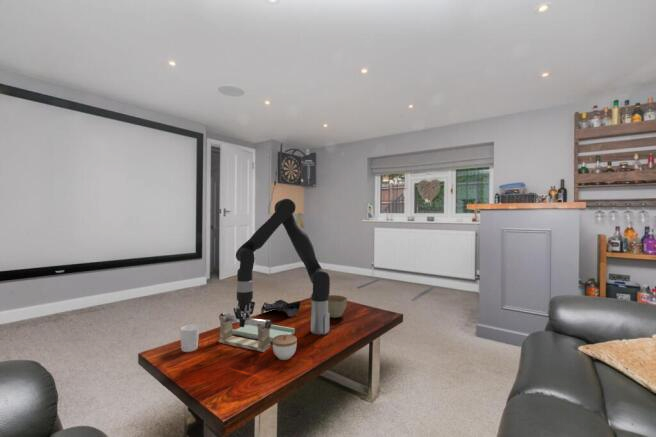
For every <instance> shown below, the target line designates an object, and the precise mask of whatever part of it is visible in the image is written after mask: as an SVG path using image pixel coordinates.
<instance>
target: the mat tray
mask: <svg viewBox="0 0 656 437" xmlns="http://www.w3.org/2000/svg"><path fill="white" fill-rule="evenodd" d="M295 333H296V328H295V327H294V328H293V327H288V326H283V325H282V326H281V325H276V324H272V323H271V327H270V343H272V340H273V338H274V337H276V336H278V335H284V334H288V335H294V334H295ZM232 335H234V336H238V337H242V338H247V339H252V340H258V329H257V326H253V325H245V326H244V327H240V326H239V328H236V329H234V328H232Z"/></svg>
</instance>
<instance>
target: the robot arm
mask: <svg viewBox="0 0 656 437" xmlns="http://www.w3.org/2000/svg"><path fill="white" fill-rule="evenodd" d="M296 208H297V207H296V204H295V201H294V200H292V199H291V198H283V199H281V200H278V201H277V202H276V203H275V205H274V212H273V214H272V215H271V216H270V218H268V219H267V221H265V222H264V223H263V224H262V225H261V226H260V227H258V229H256V230H255V232H254V233H253V234H252V235H251V237H250V238H249V239H248V240H247V241H246V242H245V243H243V244H242V245H241V246H240V247H238V249H237V251H236V252H235V258H236V260H237V261H238V262H239V268H238V269H237V271H236V272H237V275H236V278H237V280H236V301H238V302H237V306H236V307H234V308H233V313H234V316H236V319H239V320H240V323H239V328H240V327H244V326H245V325H247V324H245V322H244V321H245V319H244V318H245V317H246V318H251V315H253V314H254V309H255V306H256V302H255V301H252V300H253V299H254V283H253V270H254V265H255V260H256V259H255V252H256V251H257V250H259V249H261V248H263V246H264V245H265V244H266V242H267V241H268V240H269V239H270V237H271V236H272V235H273V234H274V233H275V232H276V231H277V229H278V228H279V227H280V226H281V225H283V227H284V229H285V232H286V233H287V235H288V238H289V239H290V241H291V244H292V246H293V248H294V249H295V252H296V253H297V255H298V257H299V259H300V260H301V262H302V263H303V266H305V269H306V272H307V274H308V277H309V280H310V282H311V283H312V293H311V295H310V332H311V333H312V334H314V335H326V334H328V333H329V332H330V317H329V316H330V314H329V313H328V296H329V295H330V290H331V289H330V288H331V286H330V285H331V279H330V275H329V273H328V272H327V271H325V270H323V268H322V266H321V264H320V263H319V261H318V259H317V257H316V254H315V249H314V246H313V244H312V241H311V240H310V239H311V238H310V237H309V236H308V234H307V233H306V231H305V230H304V229H303V228H302V226H300V225H299V223H298V222H297V221H296V219H295V216H294V213H295V211H296Z"/></svg>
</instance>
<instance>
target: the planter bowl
mask: <svg viewBox="0 0 656 437" xmlns="http://www.w3.org/2000/svg"><path fill="white" fill-rule="evenodd" d="M347 303H348V297H346V296H344V295H338V294H329V296H328V313H329V314H330V316H329V318H333V319H334V318H340V317H342V316H343V313H344V312H345V310H346V308H347Z"/></svg>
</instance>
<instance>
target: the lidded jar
mask: <svg viewBox="0 0 656 437" xmlns="http://www.w3.org/2000/svg"><path fill="white" fill-rule="evenodd" d="M297 342H298V338H297V336H295V335H294V334H292V335H288V334H284V335H278V336H276V337H274V338H273V340H272V342H271V344H272V351H273V354H274V355H275V356H276V357H277V358H278V360H281V361H286V360H290V359H291V358H292V357H293V355H294V354H295V353H296V351H297V347H298V346H297V344H298V343H297Z"/></svg>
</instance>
